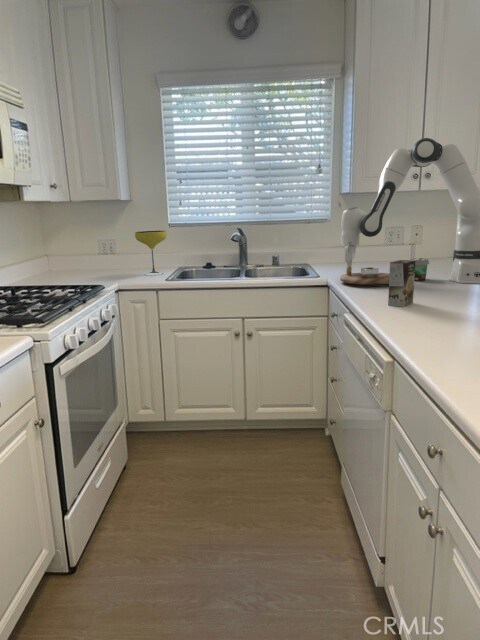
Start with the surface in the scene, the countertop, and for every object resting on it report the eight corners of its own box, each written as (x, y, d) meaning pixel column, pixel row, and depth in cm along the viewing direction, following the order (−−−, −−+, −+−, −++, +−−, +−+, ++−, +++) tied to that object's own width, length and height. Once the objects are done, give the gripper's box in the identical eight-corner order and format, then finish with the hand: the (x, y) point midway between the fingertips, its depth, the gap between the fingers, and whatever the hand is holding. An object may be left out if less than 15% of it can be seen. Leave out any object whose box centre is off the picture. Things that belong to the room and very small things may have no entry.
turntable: (409, 277, 226) (410, 266, 224) (387, 286, 205) (388, 274, 203) (355, 273, 243) (355, 263, 242) (329, 281, 222) (329, 270, 220)
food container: (423, 282, 220) (424, 261, 218) (410, 281, 224) (411, 260, 221) (431, 278, 230) (432, 258, 227) (418, 278, 233) (419, 257, 231)
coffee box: (404, 307, 171) (406, 263, 168) (387, 305, 175) (389, 262, 172) (413, 302, 178) (415, 260, 174) (397, 301, 182) (398, 259, 178)
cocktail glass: (163, 276, 270) (160, 232, 264) (133, 276, 273) (130, 233, 267) (173, 271, 287) (170, 230, 281) (144, 272, 290) (141, 231, 284)
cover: (381, 276, 223) (381, 267, 222) (374, 278, 217) (374, 269, 216) (365, 275, 228) (365, 266, 227) (357, 277, 222) (358, 268, 221)
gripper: (355, 243, 222) (354, 272, 225) (357, 239, 241) (356, 266, 244) (341, 243, 223) (341, 272, 227) (345, 239, 242) (344, 266, 246)
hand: (349, 269), depth 235 cm, fingers closed
